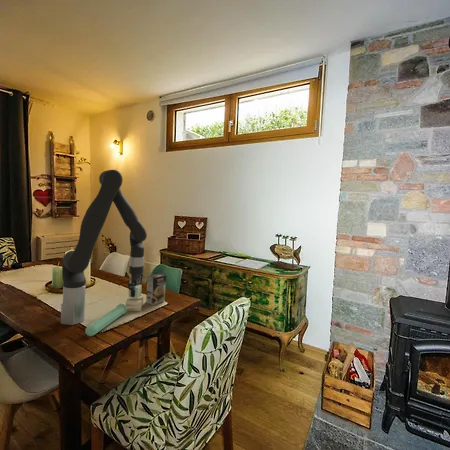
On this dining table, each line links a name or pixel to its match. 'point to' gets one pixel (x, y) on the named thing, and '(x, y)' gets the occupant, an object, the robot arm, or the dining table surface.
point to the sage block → (136, 292)
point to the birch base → (134, 304)
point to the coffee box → (156, 289)
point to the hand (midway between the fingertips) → (134, 294)
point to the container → (105, 320)
